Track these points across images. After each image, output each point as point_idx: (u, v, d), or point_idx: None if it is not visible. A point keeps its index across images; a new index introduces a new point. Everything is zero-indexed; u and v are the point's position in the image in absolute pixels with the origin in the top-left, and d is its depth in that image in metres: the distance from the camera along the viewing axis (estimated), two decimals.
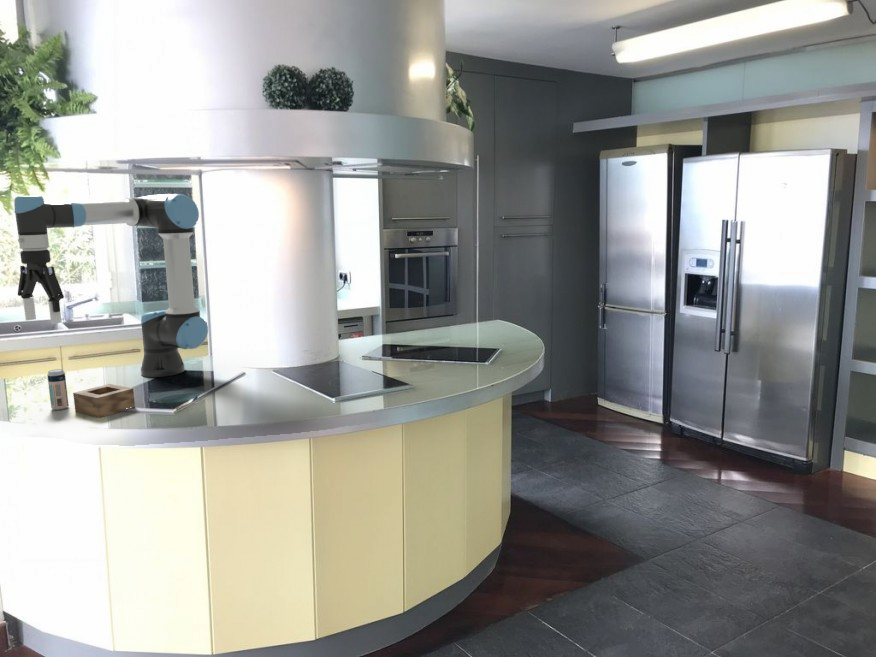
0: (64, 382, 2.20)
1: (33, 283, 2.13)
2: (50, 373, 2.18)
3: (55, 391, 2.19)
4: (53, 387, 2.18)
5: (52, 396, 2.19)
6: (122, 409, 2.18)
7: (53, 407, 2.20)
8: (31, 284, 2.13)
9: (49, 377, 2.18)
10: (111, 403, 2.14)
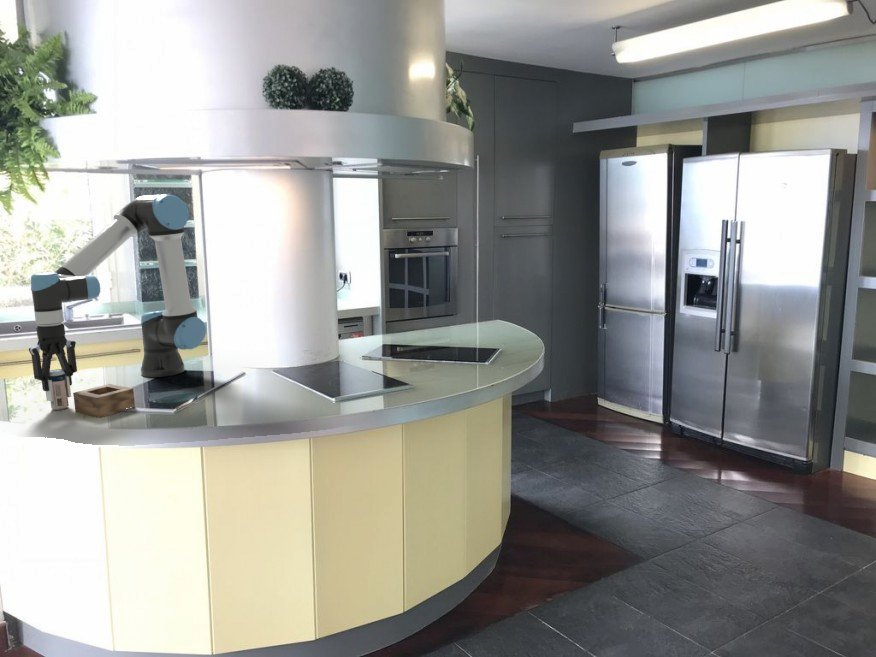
0: (64, 382, 2.20)
1: (60, 357, 2.20)
2: (50, 373, 2.18)
3: (55, 391, 2.19)
4: (53, 387, 2.18)
5: None
6: (122, 409, 2.18)
7: (53, 407, 2.20)
8: (59, 358, 2.21)
9: (49, 377, 2.18)
10: (111, 403, 2.14)
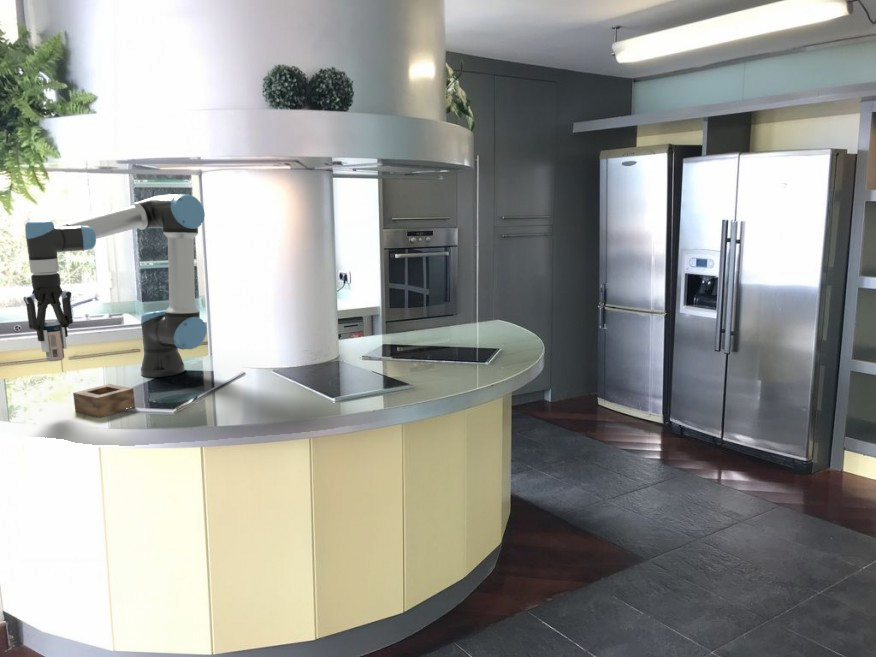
0: (59, 333, 2.18)
1: (55, 308, 2.17)
2: (45, 323, 2.15)
3: (50, 341, 2.16)
4: (48, 337, 2.15)
5: None
6: (122, 409, 2.18)
7: (48, 358, 2.17)
8: (55, 309, 2.18)
9: (44, 327, 2.15)
10: (111, 403, 2.14)
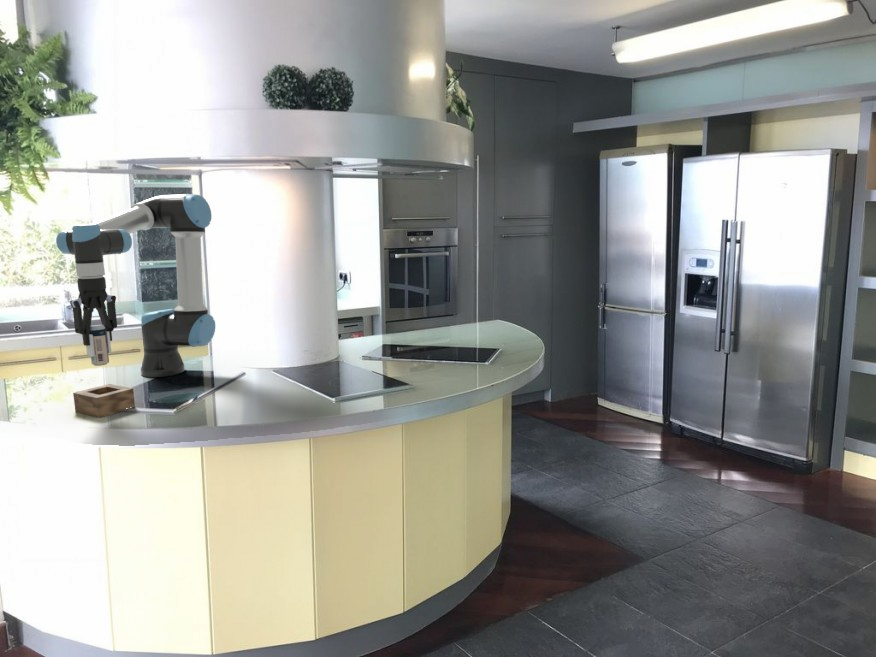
0: (105, 337, 2.15)
1: (101, 312, 2.15)
2: (91, 327, 2.13)
3: (96, 345, 2.14)
4: (94, 342, 2.13)
5: None
6: (122, 409, 2.18)
7: (94, 362, 2.15)
8: (100, 313, 2.16)
9: (90, 331, 2.13)
10: (111, 403, 2.14)
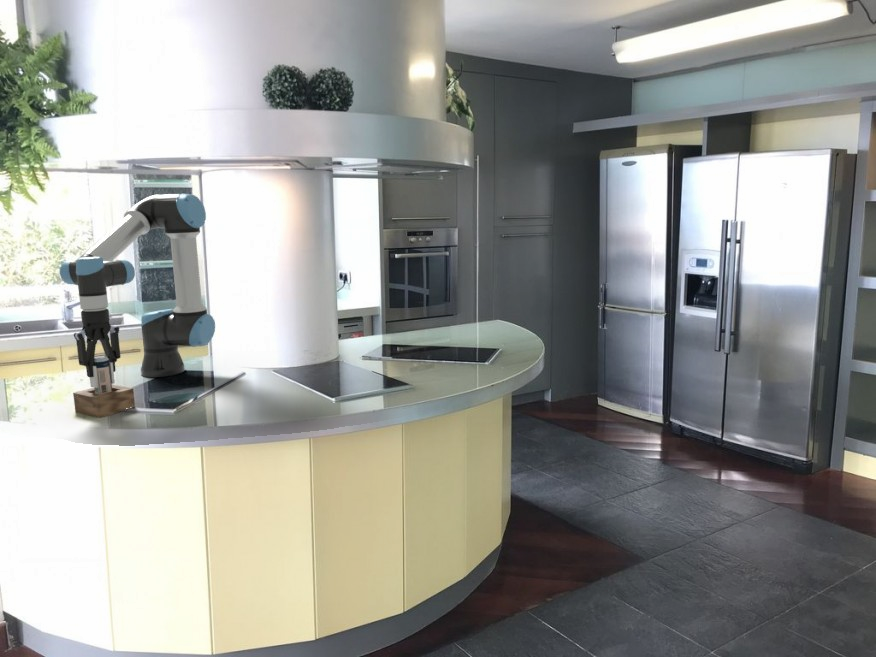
0: (108, 368, 2.17)
1: (104, 343, 2.17)
2: (94, 359, 2.15)
3: (99, 377, 2.15)
4: (97, 373, 2.15)
5: None
6: (122, 409, 2.18)
7: None
8: (103, 344, 2.18)
9: None
10: (111, 403, 2.14)
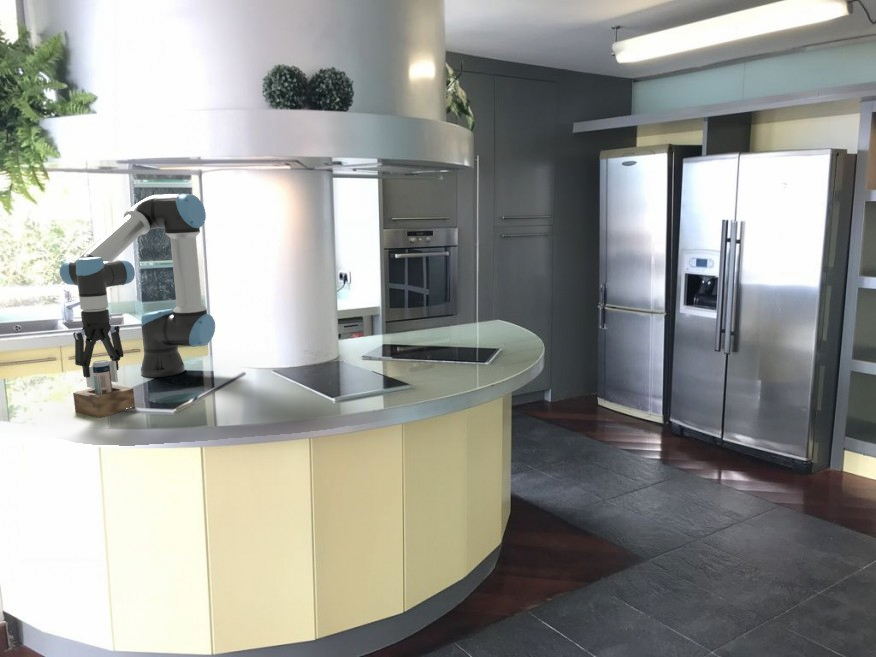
0: (109, 373, 2.18)
1: (106, 343, 2.18)
2: (95, 364, 2.15)
3: (100, 382, 2.16)
4: (98, 378, 2.15)
5: (97, 387, 2.16)
6: (122, 409, 2.18)
7: None
8: (105, 344, 2.18)
9: (94, 368, 2.15)
10: (111, 403, 2.14)
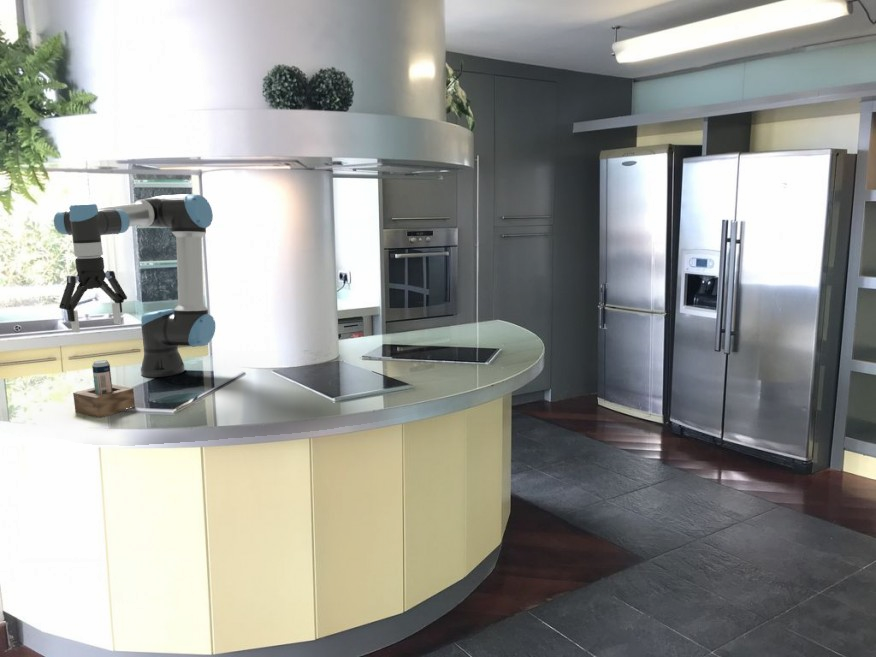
0: (109, 373, 2.18)
1: (105, 289, 2.16)
2: (95, 364, 2.15)
3: (100, 382, 2.16)
4: (98, 378, 2.15)
5: (97, 387, 2.16)
6: (122, 409, 2.18)
7: None
8: (104, 290, 2.16)
9: (94, 368, 2.15)
10: (111, 403, 2.14)
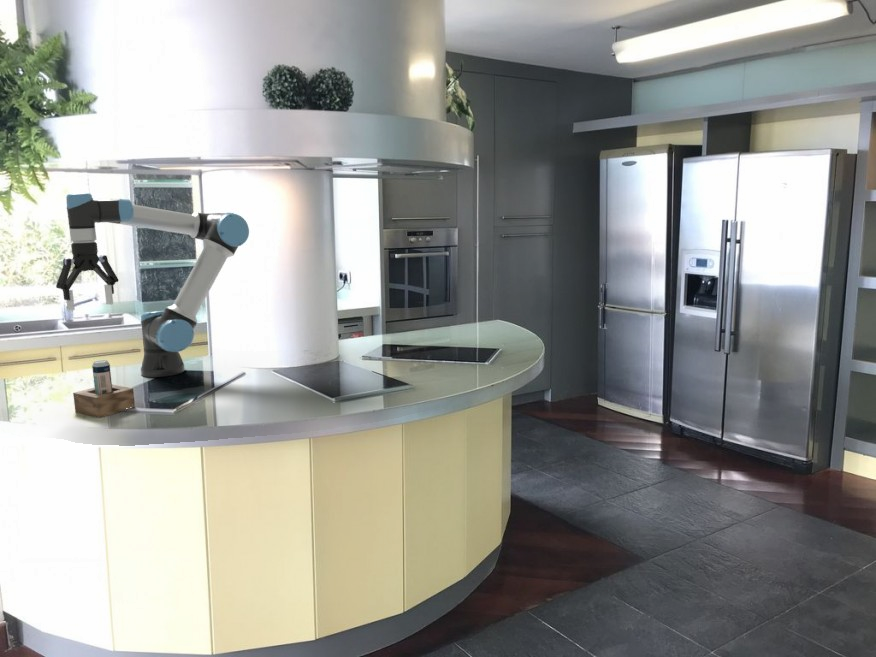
0: (109, 373, 2.18)
1: (98, 272, 2.36)
2: (95, 364, 2.15)
3: (100, 382, 2.16)
4: (98, 378, 2.15)
5: (97, 387, 2.16)
6: (122, 409, 2.18)
7: None
8: (98, 272, 2.37)
9: (94, 368, 2.15)
10: (111, 403, 2.14)
